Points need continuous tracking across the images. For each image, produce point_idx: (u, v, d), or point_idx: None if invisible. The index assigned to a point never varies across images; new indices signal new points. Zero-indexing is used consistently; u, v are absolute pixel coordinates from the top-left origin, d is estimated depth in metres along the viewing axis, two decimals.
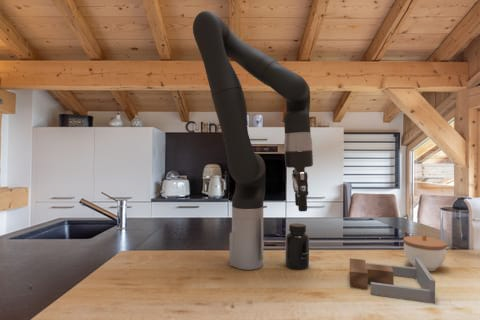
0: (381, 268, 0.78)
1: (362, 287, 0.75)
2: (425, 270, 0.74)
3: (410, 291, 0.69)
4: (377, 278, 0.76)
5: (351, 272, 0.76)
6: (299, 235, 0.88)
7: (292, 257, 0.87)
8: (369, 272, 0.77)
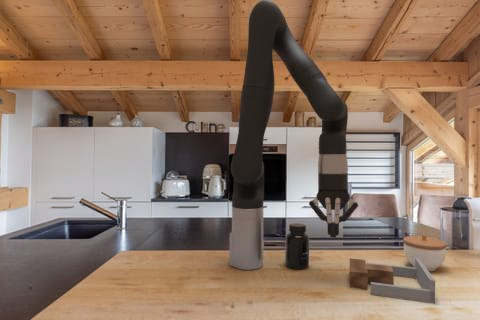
0: (381, 268, 0.78)
1: (362, 287, 0.75)
2: (425, 270, 0.74)
3: (410, 291, 0.69)
4: (377, 278, 0.76)
5: (351, 272, 0.76)
6: (299, 235, 0.88)
7: (292, 257, 0.87)
8: (369, 272, 0.77)
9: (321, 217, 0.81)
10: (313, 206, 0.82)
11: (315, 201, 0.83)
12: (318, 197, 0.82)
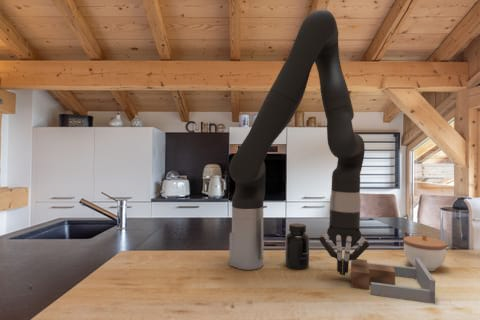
0: (383, 268, 0.78)
1: (364, 287, 0.75)
2: (425, 270, 0.74)
3: (410, 291, 0.69)
4: (379, 278, 0.76)
5: (353, 272, 0.76)
6: (299, 235, 0.88)
7: (292, 257, 0.87)
8: (371, 272, 0.77)
9: (331, 254, 0.81)
10: (323, 242, 0.81)
11: (325, 237, 0.82)
12: (329, 233, 0.81)
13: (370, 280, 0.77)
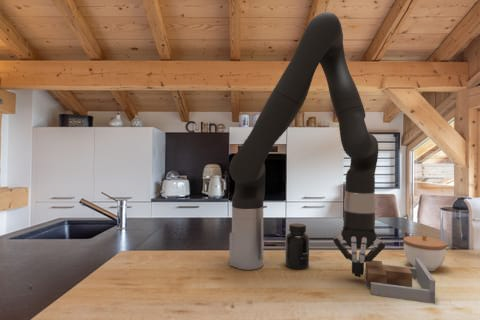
0: (399, 269, 0.77)
1: None
2: (425, 270, 0.74)
3: (410, 291, 0.69)
4: (395, 280, 0.75)
5: (369, 274, 0.75)
6: (299, 235, 0.88)
7: (292, 257, 0.87)
8: (387, 274, 0.76)
9: (346, 255, 0.80)
10: (338, 244, 0.80)
11: (340, 238, 0.81)
12: (343, 235, 0.80)
13: (386, 282, 0.76)
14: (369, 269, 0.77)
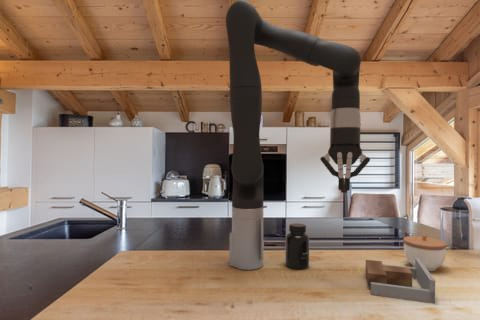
0: (399, 269, 0.77)
1: None
2: (425, 270, 0.74)
3: (410, 291, 0.69)
4: (395, 280, 0.75)
5: (369, 274, 0.75)
6: (299, 235, 0.88)
7: (292, 257, 0.87)
8: (387, 274, 0.76)
9: (332, 172, 0.81)
10: (324, 161, 0.82)
11: (326, 157, 0.83)
12: (330, 152, 0.82)
13: (387, 282, 0.76)
14: (369, 269, 0.77)
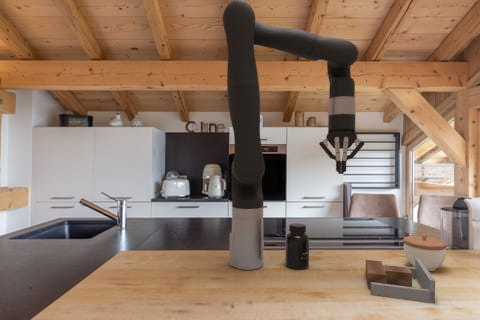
0: (399, 269, 0.77)
1: None
2: (425, 270, 0.74)
3: (410, 291, 0.69)
4: (395, 280, 0.75)
5: (369, 274, 0.75)
6: (299, 235, 0.88)
7: (292, 257, 0.87)
8: (387, 274, 0.76)
9: (330, 155, 0.89)
10: (323, 146, 0.90)
11: (325, 142, 0.91)
12: (328, 137, 0.90)
13: (387, 282, 0.76)
14: (369, 269, 0.77)
